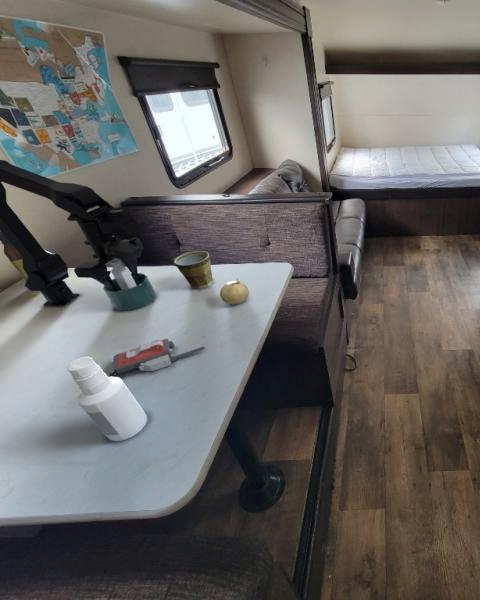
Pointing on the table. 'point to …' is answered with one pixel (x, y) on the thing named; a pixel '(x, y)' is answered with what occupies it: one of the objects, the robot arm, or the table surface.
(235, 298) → the onion
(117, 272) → the eye dropper bottle
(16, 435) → the table surface
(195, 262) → the ceramic cup
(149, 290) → the canister
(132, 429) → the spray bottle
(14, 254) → the sauce bottle
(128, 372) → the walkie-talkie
